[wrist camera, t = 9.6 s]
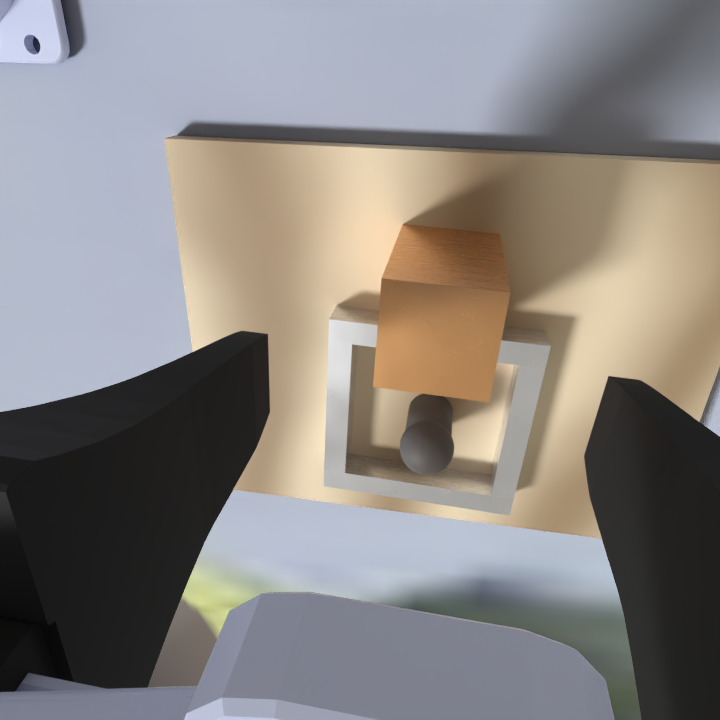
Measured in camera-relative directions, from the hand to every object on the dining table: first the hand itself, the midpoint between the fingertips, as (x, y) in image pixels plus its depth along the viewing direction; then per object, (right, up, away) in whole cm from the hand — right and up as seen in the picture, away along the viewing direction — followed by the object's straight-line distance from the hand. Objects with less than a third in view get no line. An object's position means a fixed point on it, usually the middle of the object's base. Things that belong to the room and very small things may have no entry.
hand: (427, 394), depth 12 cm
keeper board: (+1, +1, +8) cm, 8 cm away
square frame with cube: (+1, 0, +8) cm, 8 cm away
